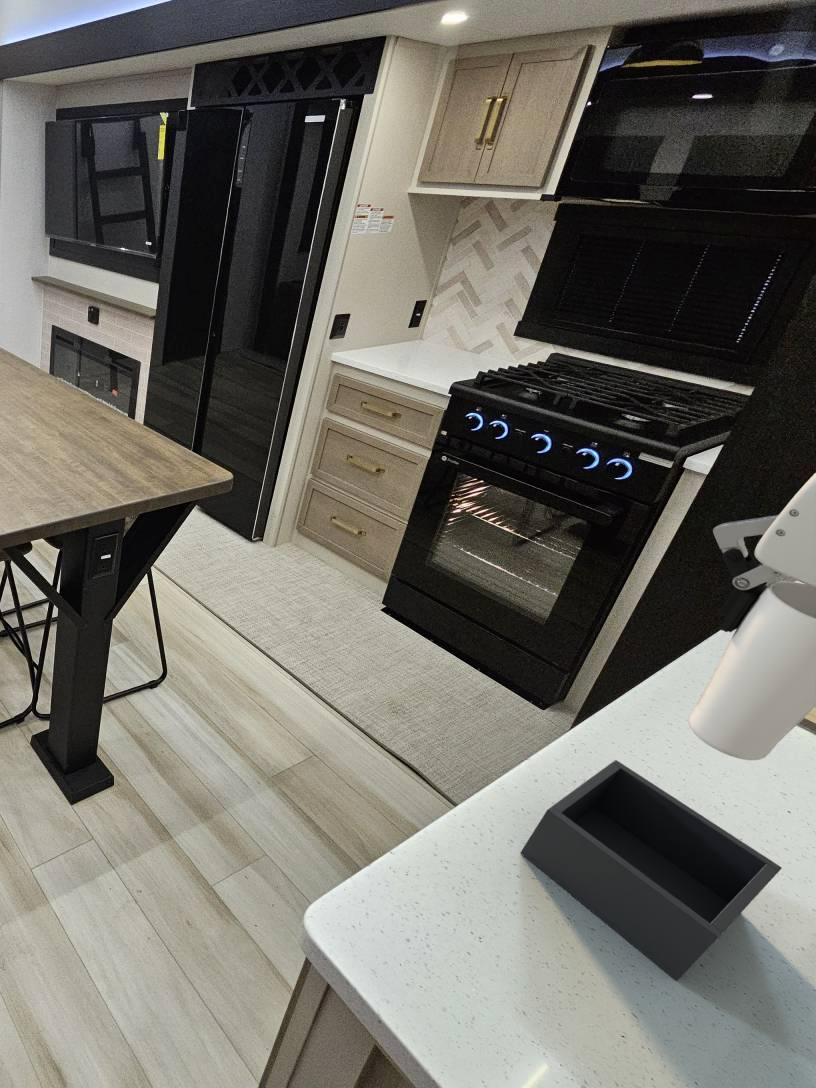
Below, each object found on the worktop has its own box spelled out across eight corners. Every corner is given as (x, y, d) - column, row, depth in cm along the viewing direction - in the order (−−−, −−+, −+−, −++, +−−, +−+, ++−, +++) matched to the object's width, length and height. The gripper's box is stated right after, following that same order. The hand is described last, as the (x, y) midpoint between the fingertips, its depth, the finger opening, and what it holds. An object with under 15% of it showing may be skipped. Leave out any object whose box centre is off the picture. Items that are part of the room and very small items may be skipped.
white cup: (678, 698, 65) (767, 569, 58) (777, 741, 61) (886, 608, 53) (669, 736, 61) (764, 602, 53) (775, 785, 56) (893, 647, 49)
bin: (587, 802, 72) (615, 759, 69) (740, 911, 62) (782, 867, 59) (519, 853, 66) (547, 809, 63) (676, 981, 57) (718, 937, 54)
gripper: (1167, 506, 42) (964, 712, 51) (792, 407, 56) (681, 584, 64) (1144, 532, 39) (932, 748, 48) (752, 421, 52) (641, 605, 61)
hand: (789, 652), depth 56 cm, fingers closed on white cup, 6 cm apart
